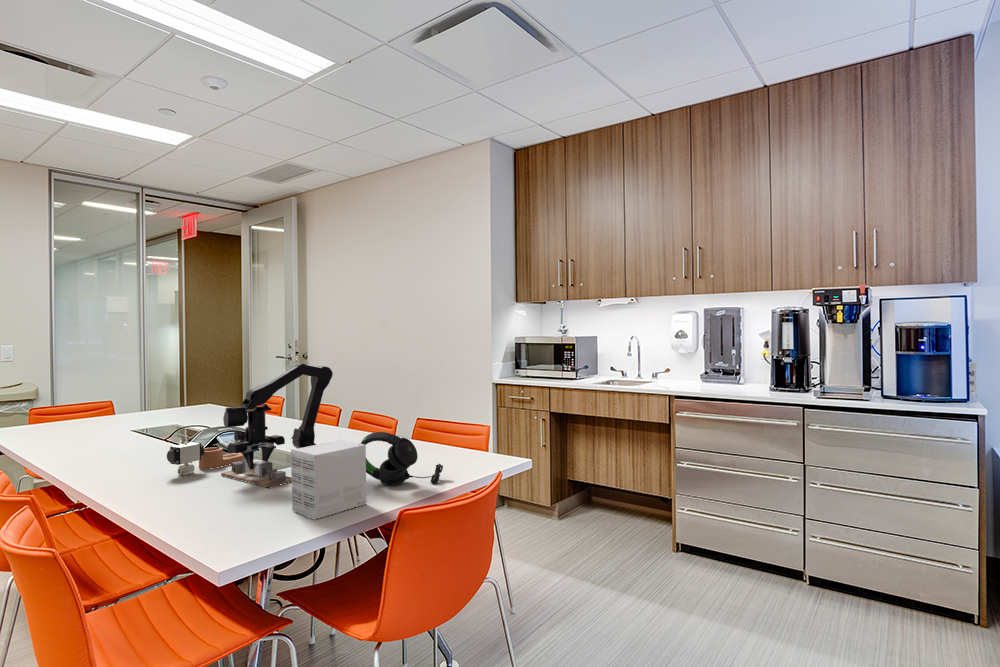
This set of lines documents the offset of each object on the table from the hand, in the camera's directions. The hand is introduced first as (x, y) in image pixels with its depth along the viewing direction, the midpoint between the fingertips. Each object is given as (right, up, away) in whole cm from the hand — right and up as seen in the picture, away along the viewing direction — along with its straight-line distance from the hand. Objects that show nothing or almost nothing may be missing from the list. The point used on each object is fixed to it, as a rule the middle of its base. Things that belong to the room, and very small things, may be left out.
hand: (257, 468), depth 193 cm
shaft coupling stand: (0, -4, 0) cm, 4 cm away
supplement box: (+36, -4, -34) cm, 50 cm away
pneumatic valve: (-30, -4, +7) cm, 31 cm away
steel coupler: (0, -2, 0) cm, 2 cm away
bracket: (-24, -4, +23) cm, 33 cm away
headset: (+52, -3, -9) cm, 53 cm away
